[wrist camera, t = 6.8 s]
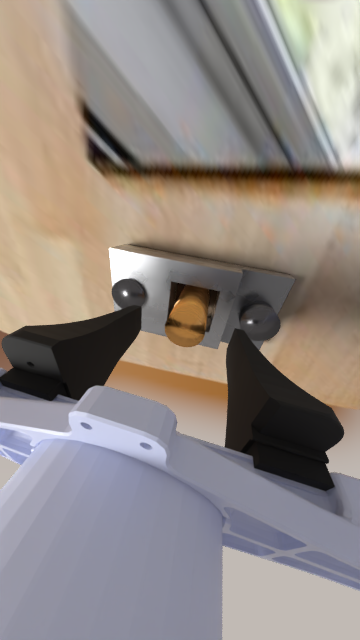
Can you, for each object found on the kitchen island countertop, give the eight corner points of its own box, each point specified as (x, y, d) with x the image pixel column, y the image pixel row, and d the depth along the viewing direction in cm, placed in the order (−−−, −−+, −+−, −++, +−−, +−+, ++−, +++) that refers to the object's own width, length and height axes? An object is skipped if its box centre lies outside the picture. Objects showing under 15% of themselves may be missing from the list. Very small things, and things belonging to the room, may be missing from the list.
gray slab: (289, 274, 15) (305, 287, 12) (256, 342, 19) (262, 363, 16) (126, 244, 17) (105, 248, 14) (128, 311, 21) (113, 326, 18)
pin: (212, 284, 17) (209, 318, 11) (206, 309, 19) (200, 351, 13) (184, 278, 17) (166, 308, 12) (180, 304, 19) (162, 341, 13)
